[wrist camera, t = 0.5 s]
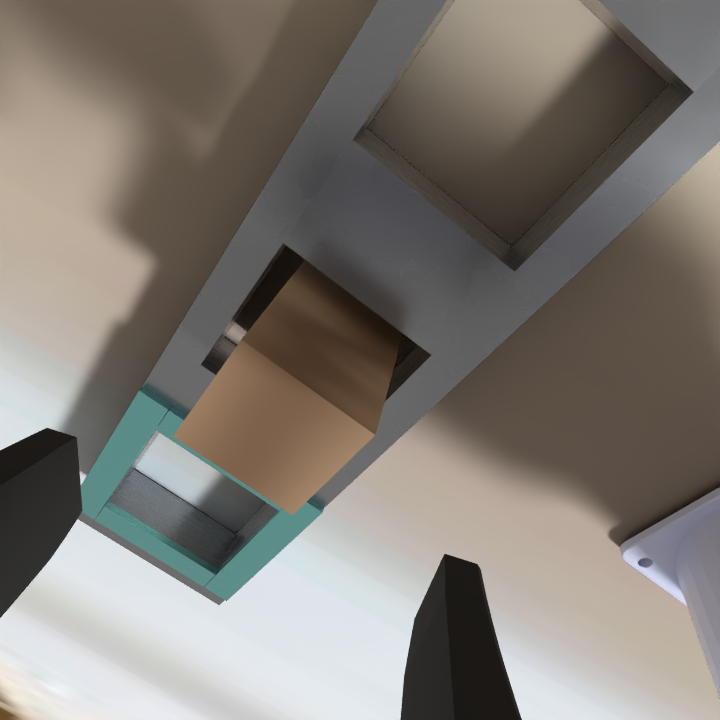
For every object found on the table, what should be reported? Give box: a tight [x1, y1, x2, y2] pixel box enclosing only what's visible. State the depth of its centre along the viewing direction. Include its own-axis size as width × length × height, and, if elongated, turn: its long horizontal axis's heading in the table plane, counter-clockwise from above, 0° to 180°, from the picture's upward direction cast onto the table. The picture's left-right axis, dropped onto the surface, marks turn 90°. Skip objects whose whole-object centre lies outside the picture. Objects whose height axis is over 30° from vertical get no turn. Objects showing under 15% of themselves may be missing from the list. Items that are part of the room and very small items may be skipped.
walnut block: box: [173, 260, 403, 515], centre depth 17 cm, size 4×4×6 cm
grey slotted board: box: [78, 0, 720, 605], centre depth 18 cm, size 8×28×2 cm, turn 144°
